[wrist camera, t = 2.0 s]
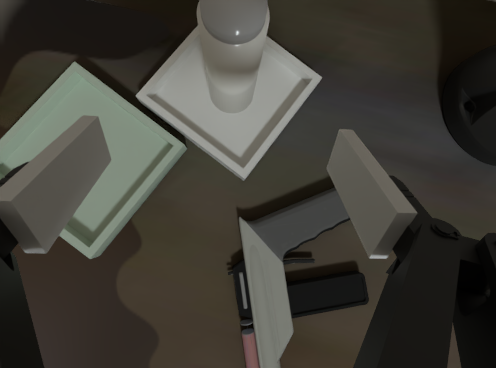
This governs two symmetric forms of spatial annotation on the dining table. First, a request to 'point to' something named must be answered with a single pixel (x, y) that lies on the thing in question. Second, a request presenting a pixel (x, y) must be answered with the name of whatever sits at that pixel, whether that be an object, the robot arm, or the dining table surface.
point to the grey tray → (221, 123)
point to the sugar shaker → (232, 49)
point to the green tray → (119, 145)
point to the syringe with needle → (273, 276)
